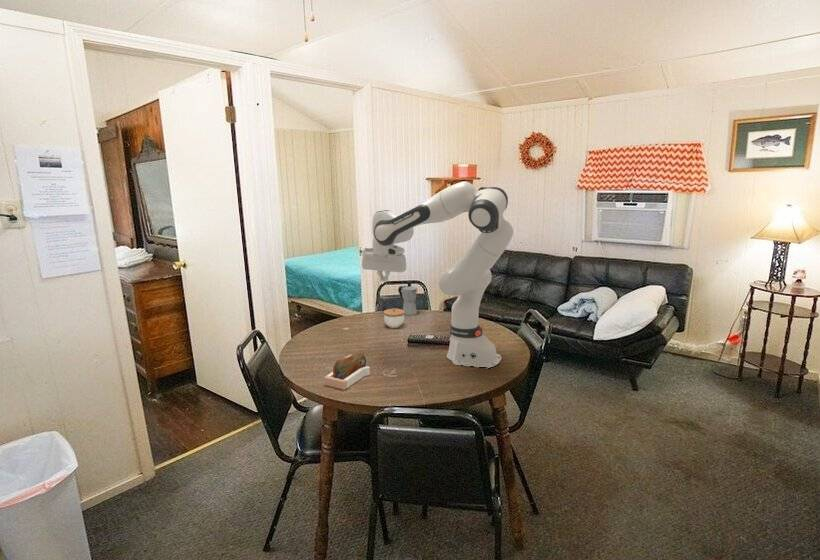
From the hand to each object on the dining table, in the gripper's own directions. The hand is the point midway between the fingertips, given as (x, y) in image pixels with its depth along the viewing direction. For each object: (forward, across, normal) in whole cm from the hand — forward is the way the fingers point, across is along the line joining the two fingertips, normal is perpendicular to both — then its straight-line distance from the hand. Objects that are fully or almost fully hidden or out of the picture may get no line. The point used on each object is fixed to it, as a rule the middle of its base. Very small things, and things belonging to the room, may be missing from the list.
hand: (384, 280), depth 188 cm
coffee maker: (+30, -15, +52) cm, 61 cm away
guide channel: (+31, +2, -34) cm, 46 cm away
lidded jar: (+30, -11, +28) cm, 43 cm away
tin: (+32, +2, -31) cm, 44 cm away
